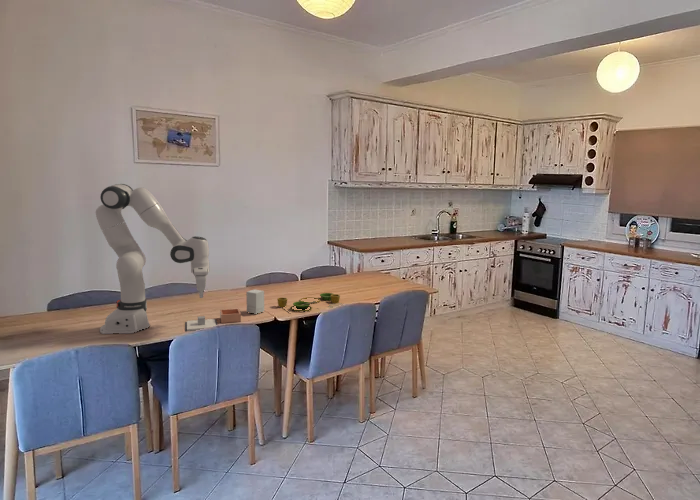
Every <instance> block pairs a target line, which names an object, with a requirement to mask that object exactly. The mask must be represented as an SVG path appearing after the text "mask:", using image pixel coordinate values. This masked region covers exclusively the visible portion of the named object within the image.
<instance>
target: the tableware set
mask: <svg viewBox="0 0 700 500" xmlns="http://www.w3.org/2000/svg"><path fill="white" fill-rule="evenodd" d="M319 296H320V297H321V299H322V300H323V299H324V300H323V301H331V303H330V304H329V306H327V308H329V309H330V308H333V307H339V305H341V306H344V305H343V304H344V303H342V302H340V299H341V298H340V297H341V294H337V293H330V292H324V293H320V294H319ZM307 298H314V299H318V300H319V301H317V302H318V303H320V301H321V299H320V298H318V297H309V296H307V297H306V296H305V297H302V298H300V299H299V301H294V302H293V303H292V306H290V308H289V309H290V310H291V311H292V310H294V309H292V307H294V306H296V308H297V309H302V310H294V311H293V312H295V311H307V312H310V311H311V310H312V309H313V307H311V305H313V304H317V302H316V301H313V302H304V301H301V300H302V299H307ZM312 303H313V304H312ZM287 304H288V298H287V297H278V298H277V306H280V307H285V306H286V307H287V306H288V305H287ZM286 307H285V308H286ZM308 307H310V309H309V310H310V311H309V310H305V309H307V308H308Z"/></svg>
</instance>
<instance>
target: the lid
mask: <svg viewBox="0 0 700 500" xmlns="http://www.w3.org/2000/svg"><path fill="white" fill-rule="evenodd" d="M215 320H216V319H215V318H212V319H211V318H210V319H209V318H208V319H206V316H205V315H201V316H197V320H193V319H192V320H187V321H186V322H187V332H192V331H191V330H200V329H204V328H209V327H213V326H216V323H215ZM200 331H201V330H200Z"/></svg>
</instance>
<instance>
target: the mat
mask: <svg viewBox="0 0 700 500" xmlns="http://www.w3.org/2000/svg"><path fill="white" fill-rule="evenodd" d="M215 323H216V325H218V326H219V324H218V320H217V319H215ZM184 332H188V331H187V321H184ZM190 332H196V330H191V331H190Z"/></svg>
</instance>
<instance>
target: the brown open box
mask: <svg viewBox="0 0 700 500" xmlns="http://www.w3.org/2000/svg"><path fill="white" fill-rule="evenodd" d="M219 314H220V315H219V319H220V323H221V324H228V323H229V324H234V323H242V312H241V310H240V309H239V308H230V309H225V308H224V309H219Z"/></svg>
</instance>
